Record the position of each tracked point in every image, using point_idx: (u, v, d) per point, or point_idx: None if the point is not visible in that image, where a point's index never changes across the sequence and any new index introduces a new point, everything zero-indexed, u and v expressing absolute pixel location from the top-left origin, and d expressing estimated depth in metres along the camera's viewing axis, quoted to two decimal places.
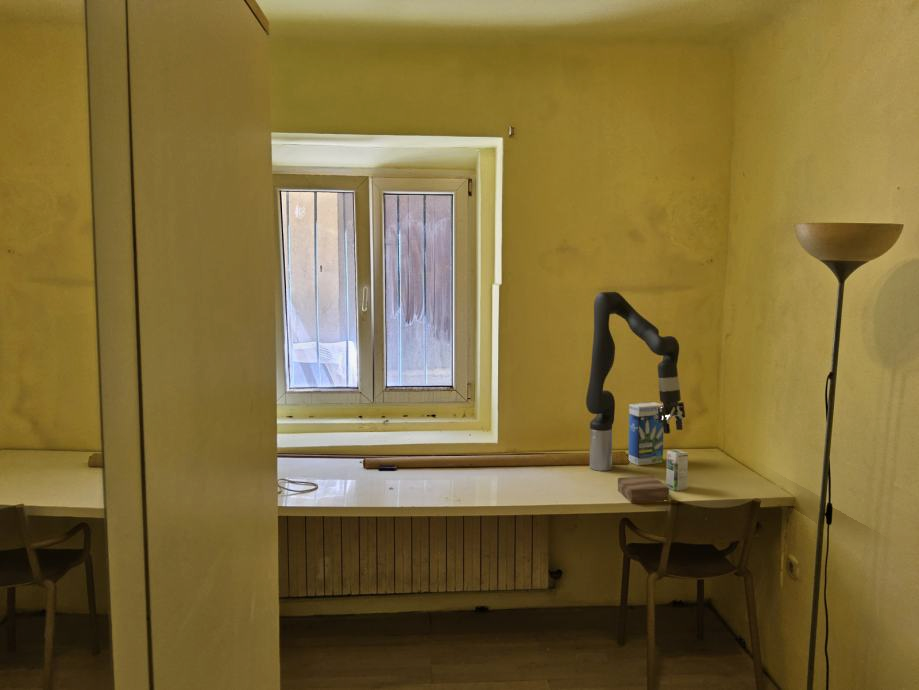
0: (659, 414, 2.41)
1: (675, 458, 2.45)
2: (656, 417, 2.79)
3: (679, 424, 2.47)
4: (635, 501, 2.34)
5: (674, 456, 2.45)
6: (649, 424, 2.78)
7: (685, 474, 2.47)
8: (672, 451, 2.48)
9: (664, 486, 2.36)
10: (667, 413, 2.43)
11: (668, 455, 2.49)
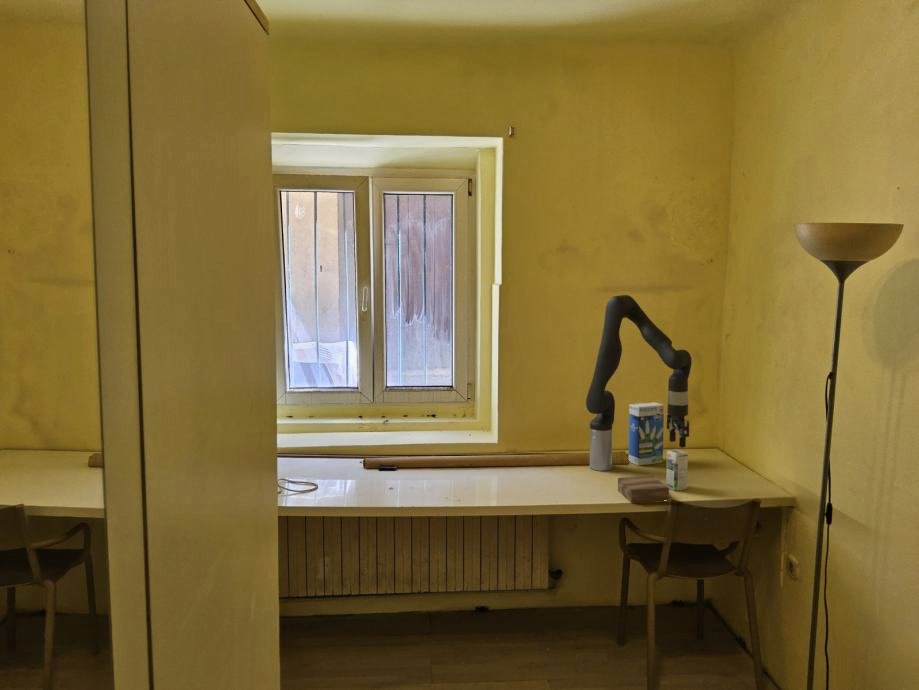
0: (684, 429, 2.40)
1: (675, 458, 2.45)
2: (656, 417, 2.79)
3: (673, 436, 2.51)
4: (635, 501, 2.34)
5: (674, 456, 2.45)
6: (649, 424, 2.78)
7: (685, 474, 2.47)
8: (672, 451, 2.48)
9: (664, 486, 2.36)
10: (681, 427, 2.44)
11: (668, 455, 2.49)
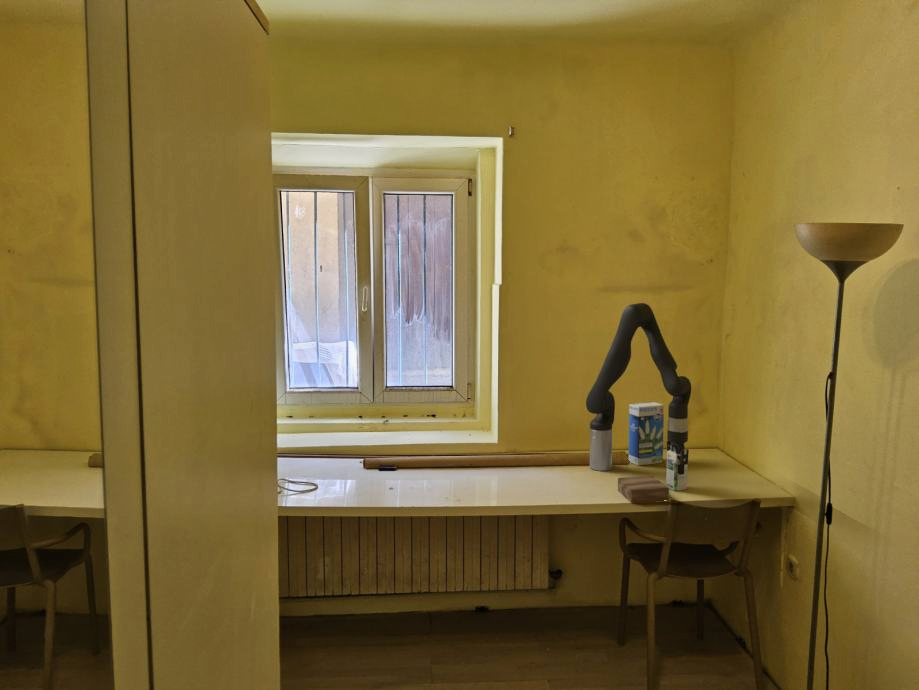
0: (683, 457, 2.41)
1: (675, 458, 2.45)
2: (656, 417, 2.79)
3: None
4: (635, 501, 2.34)
5: (674, 456, 2.45)
6: (649, 424, 2.78)
7: (685, 474, 2.47)
8: (672, 451, 2.48)
9: (664, 486, 2.36)
10: (680, 453, 2.45)
11: (668, 455, 2.49)
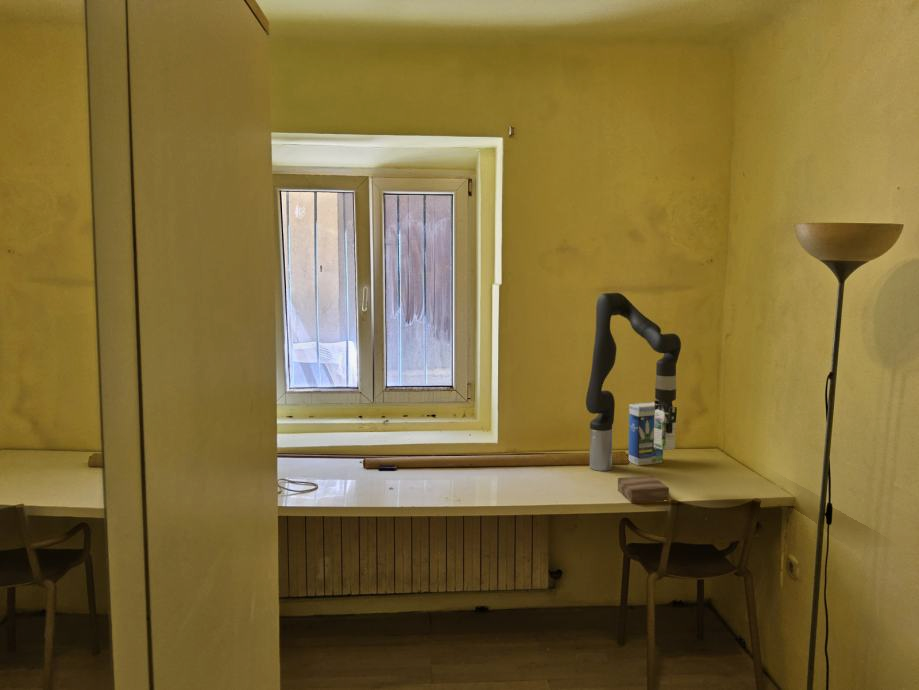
0: (671, 415, 2.36)
1: (663, 417, 2.40)
2: None
3: None
4: (635, 501, 2.34)
5: (662, 415, 2.40)
6: (649, 424, 2.78)
7: (673, 433, 2.42)
8: (660, 410, 2.43)
9: (664, 486, 2.36)
10: (668, 412, 2.41)
11: (656, 414, 2.44)
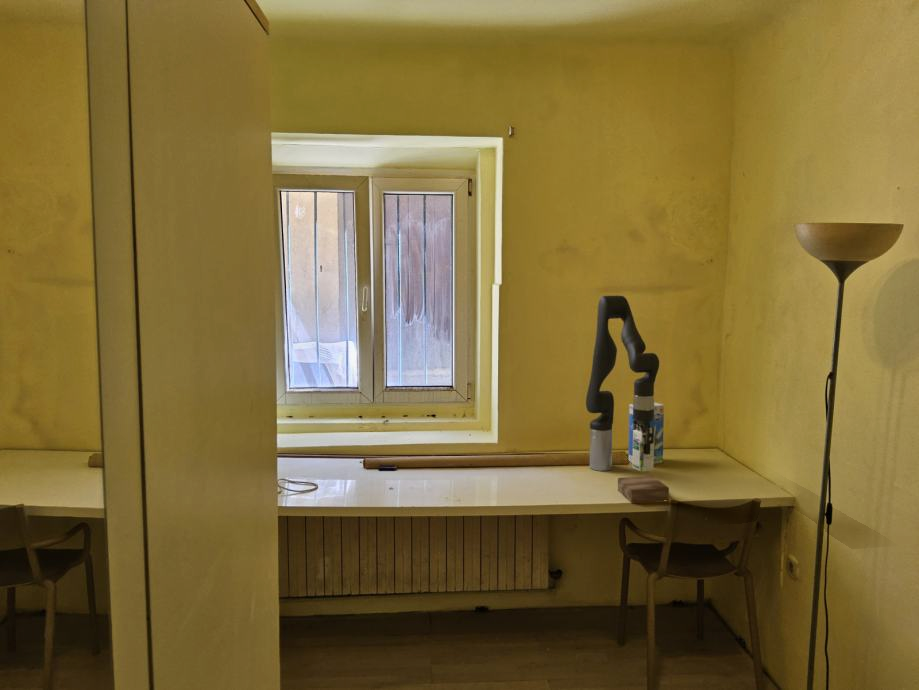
0: (648, 436, 2.32)
1: (641, 437, 2.36)
2: (656, 417, 2.79)
3: None
4: (635, 501, 2.34)
5: (640, 435, 2.36)
6: None
7: (651, 454, 2.38)
8: (638, 430, 2.39)
9: (664, 486, 2.36)
10: (646, 433, 2.37)
11: (634, 434, 2.40)
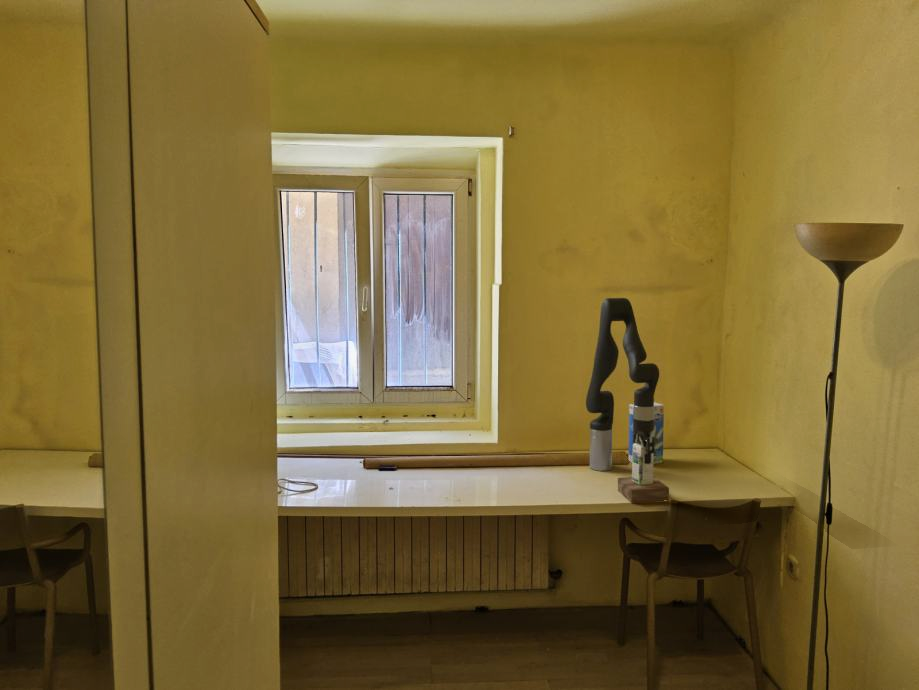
0: (649, 445, 2.32)
1: (640, 451, 2.37)
2: (656, 417, 2.79)
3: None
4: (635, 501, 2.34)
5: (639, 449, 2.37)
6: None
7: (651, 468, 2.39)
8: (638, 444, 2.40)
9: (664, 486, 2.36)
10: (646, 442, 2.37)
11: (634, 448, 2.41)
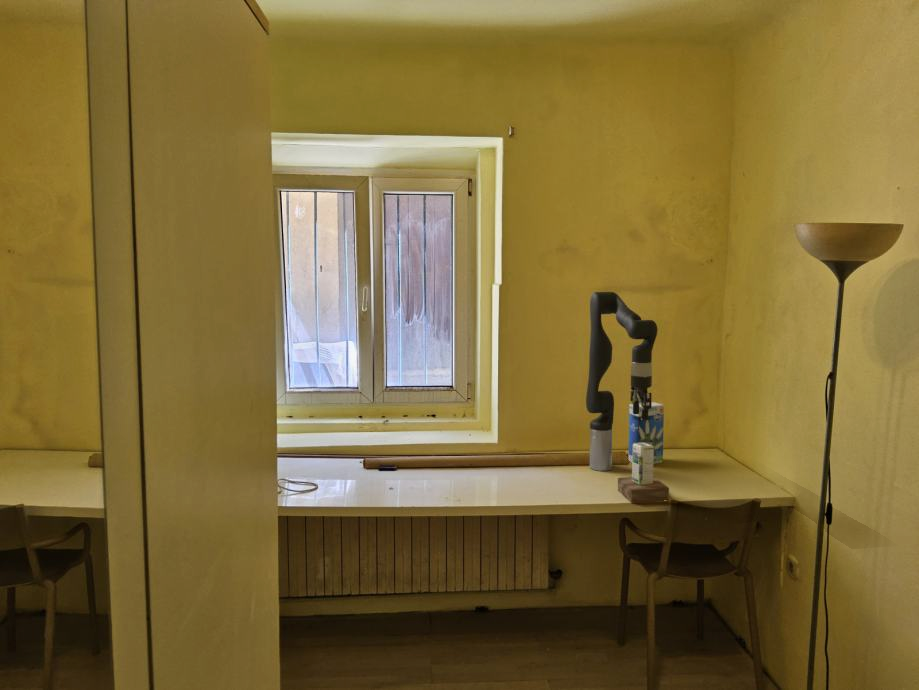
0: (646, 401, 2.34)
1: (640, 451, 2.37)
2: (656, 417, 2.79)
3: (637, 408, 2.45)
4: (635, 501, 2.34)
5: (639, 449, 2.37)
6: (649, 424, 2.78)
7: (651, 468, 2.39)
8: (638, 444, 2.40)
9: (664, 486, 2.36)
10: (643, 399, 2.38)
11: (633, 448, 2.41)
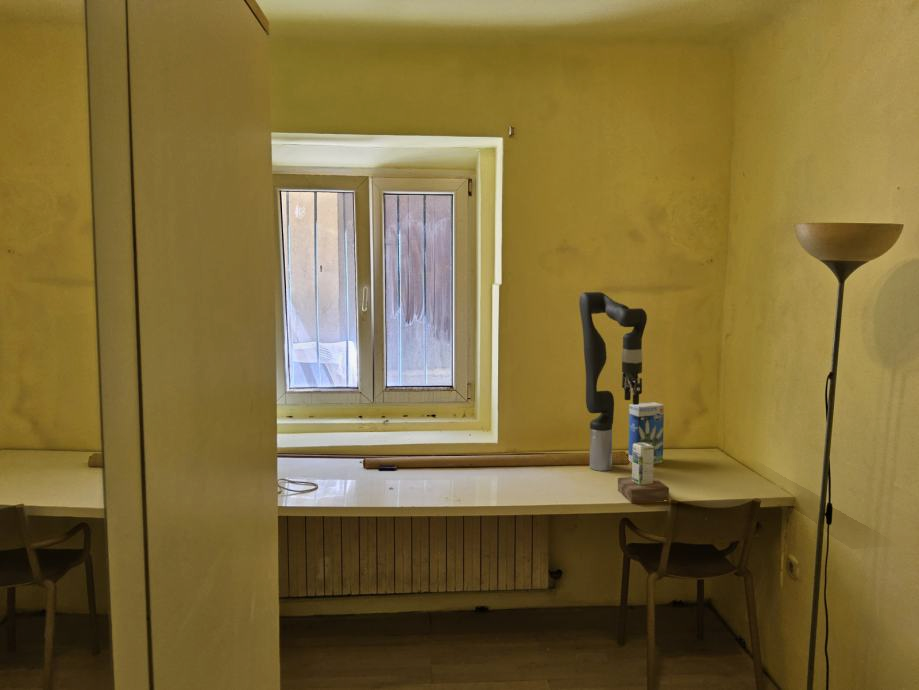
0: (637, 386, 2.42)
1: (640, 451, 2.37)
2: (656, 417, 2.79)
3: (628, 394, 2.54)
4: (635, 501, 2.34)
5: (639, 449, 2.37)
6: (649, 424, 2.78)
7: (651, 468, 2.39)
8: (638, 444, 2.40)
9: (664, 486, 2.36)
10: (634, 384, 2.46)
11: (634, 448, 2.41)
